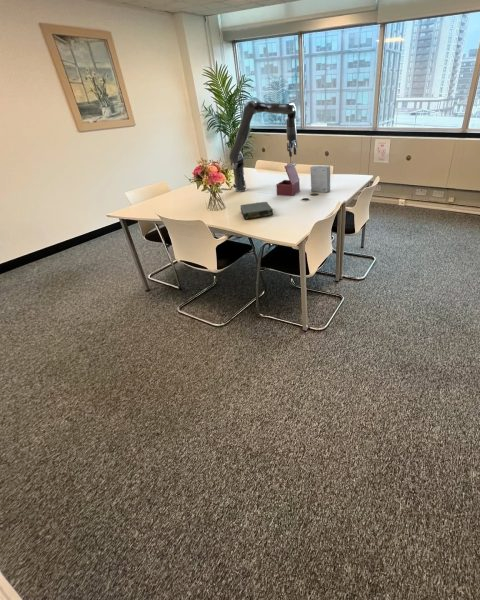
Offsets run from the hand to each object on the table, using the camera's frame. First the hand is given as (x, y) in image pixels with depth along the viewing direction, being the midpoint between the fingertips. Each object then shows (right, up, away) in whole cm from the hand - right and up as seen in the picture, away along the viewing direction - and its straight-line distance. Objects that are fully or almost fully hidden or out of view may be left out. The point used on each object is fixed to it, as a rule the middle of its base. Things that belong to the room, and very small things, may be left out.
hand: (292, 155), depth 256 cm
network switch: (-27, -53, -22) cm, 63 cm away
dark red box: (-4, -24, +19) cm, 31 cm away
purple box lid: (-1, -11, +9) cm, 14 cm away
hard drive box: (+24, -22, +20) cm, 38 cm away
